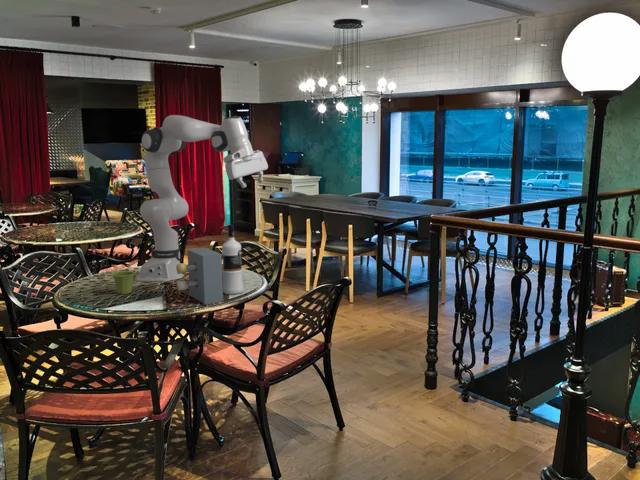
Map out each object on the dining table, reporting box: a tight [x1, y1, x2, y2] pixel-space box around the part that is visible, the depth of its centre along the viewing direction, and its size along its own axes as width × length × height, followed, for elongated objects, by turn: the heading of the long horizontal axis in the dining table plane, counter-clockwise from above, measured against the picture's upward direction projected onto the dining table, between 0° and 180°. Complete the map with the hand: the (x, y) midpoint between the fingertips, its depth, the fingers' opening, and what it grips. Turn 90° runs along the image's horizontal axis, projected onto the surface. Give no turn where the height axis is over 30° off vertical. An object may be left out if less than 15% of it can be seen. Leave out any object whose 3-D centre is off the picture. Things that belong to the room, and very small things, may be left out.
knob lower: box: [176, 279, 198, 292], centre depth 243 cm, size 14×4×4 cm, turn 122°
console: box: [186, 247, 224, 305], centre depth 245 cm, size 8×18×20 cm, turn 32°
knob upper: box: [176, 263, 197, 274], centre depth 242 cm, size 14×4×4 cm, turn 122°
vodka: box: [221, 224, 245, 296], centre depth 254 cm, size 9×9×30 cm
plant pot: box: [111, 271, 136, 295], centre depth 256 cm, size 9×9×9 cm
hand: (252, 185), depth 248 cm, fingers open, 8 cm apart
